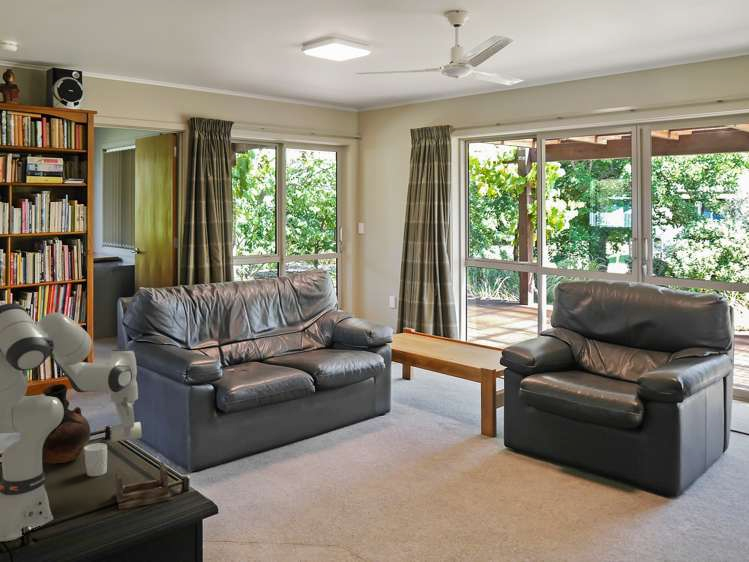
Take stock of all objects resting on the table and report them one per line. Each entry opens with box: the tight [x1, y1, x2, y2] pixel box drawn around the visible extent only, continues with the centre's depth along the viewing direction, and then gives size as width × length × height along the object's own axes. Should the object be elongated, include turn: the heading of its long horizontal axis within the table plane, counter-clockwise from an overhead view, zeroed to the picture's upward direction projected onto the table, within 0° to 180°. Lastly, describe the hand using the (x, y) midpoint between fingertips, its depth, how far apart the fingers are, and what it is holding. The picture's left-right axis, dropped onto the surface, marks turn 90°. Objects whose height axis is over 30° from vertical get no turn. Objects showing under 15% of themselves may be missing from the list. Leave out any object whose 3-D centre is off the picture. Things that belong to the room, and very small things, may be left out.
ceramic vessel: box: [42, 383, 91, 464], centre depth 262 cm, size 21×18×30 cm
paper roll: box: [110, 421, 143, 443], centre depth 238 cm, size 10×6×6 cm, turn 116°
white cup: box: [83, 442, 108, 477], centre depth 251 cm, size 8×8×10 cm
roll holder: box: [114, 461, 171, 510], centre depth 230 cm, size 16×13×10 cm
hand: (126, 433), depth 238 cm, fingers closed on paper roll, 5 cm apart
